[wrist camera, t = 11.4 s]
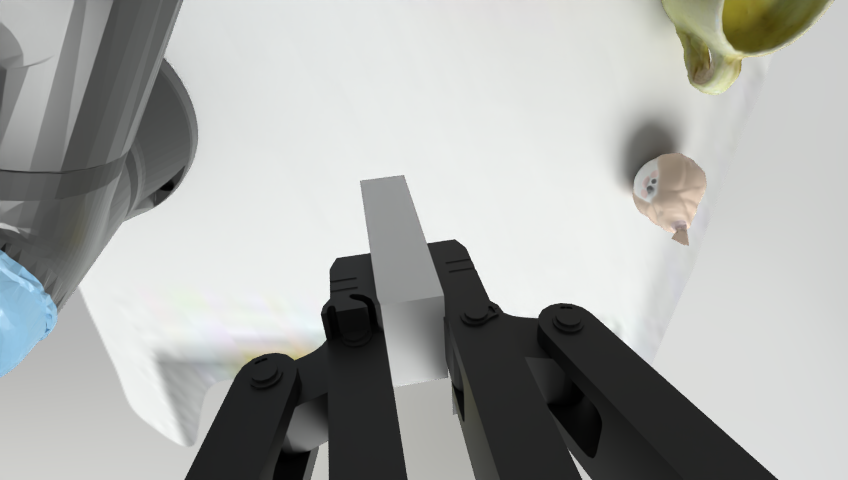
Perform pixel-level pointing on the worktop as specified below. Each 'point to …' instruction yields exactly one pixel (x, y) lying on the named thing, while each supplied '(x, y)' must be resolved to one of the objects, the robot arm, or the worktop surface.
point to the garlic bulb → (670, 192)
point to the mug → (736, 33)
